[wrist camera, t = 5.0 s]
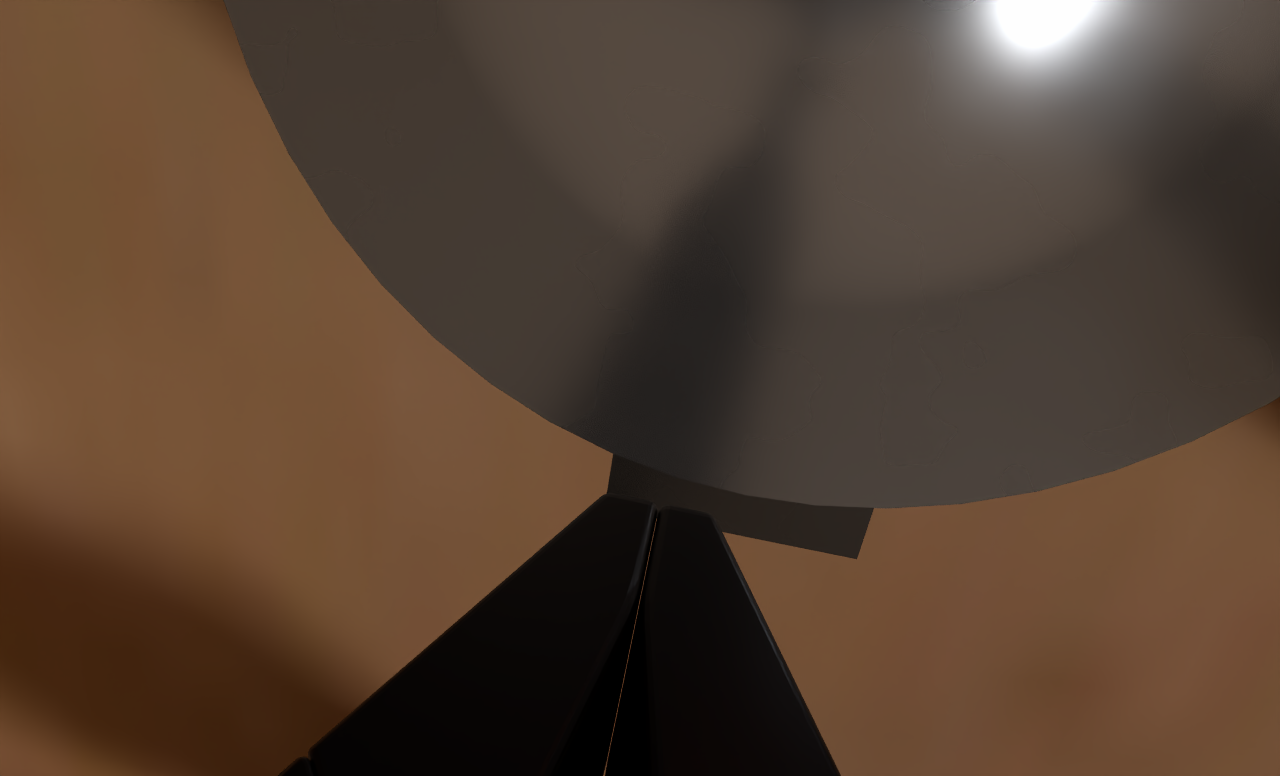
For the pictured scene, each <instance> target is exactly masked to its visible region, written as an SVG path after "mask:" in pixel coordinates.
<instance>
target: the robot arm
mask: <svg viewBox="0 0 1280 776" xmlns="http://www.w3.org/2000/svg"><path fill="white" fill-rule="evenodd" d="M657 512H658V509H657V506H656V505H655V504H654V503H653V502H651V501H648V500H644V499H639V498H634V497H629V496H625V495H620V494H615V493H607V494H604V495H603V496H601V497H600V498H599V499H598V500H597V501H595V502H594V503H593V504H592V505H591V506H590V507H588V508H587V509H586V510H585V511H584V512H583V513H582V514H580V515H579V516H578V517H577V518H576V519H575V520H573V521H572V522H571V523H570V524H569V525H568V526H567V527H565V528H564V529H563V530H562V531H561V532H560V533H558V534H557V535H556V536H555V537H554V538H553V539H551V540H550V541H549V542H548V543H547V544H546V545H545V546H543V547H542V548H541V549H540V550H539V551H538V552H536V553H535V554H534V555H533V556H532V557H531V558H529V559H528V560H527V561H526V562H525V563H524V564H523V565H521V566H520V567H519V568H518V569H517V570H516V571H514V572H513V573H512V574H511V575H510V576H509V577H508V578H506V579H505V580H504V581H503V582H502V583H501V584H499V585H498V586H497V587H496V588H495V589H494V590H492V591H491V592H490V593H489V594H488V595H487V596H486V597H484V598H483V599H482V600H481V601H480V602H479V603H477V604H476V605H475V606H474V607H473V608H472V609H471V610H469V611H468V612H467V613H466V614H465V615H464V616H462V617H461V618H460V619H459V620H458V621H457V622H455V623H454V624H453V625H452V626H451V627H450V628H449V629H447V630H446V631H445V632H444V633H443V634H442V635H440V636H439V637H438V638H437V639H436V640H435V641H434V642H432V643H431V644H430V645H429V646H428V647H427V648H425V649H424V650H423V651H422V652H421V653H420V654H418V655H417V656H416V657H415V658H414V659H413V660H412V661H410V662H409V663H408V664H407V665H406V666H405V667H403V668H402V669H401V670H400V671H399V672H398V673H396V674H395V675H394V676H393V677H392V678H391V679H390V680H388V681H387V682H386V683H385V684H384V685H383V686H381V687H380V688H379V689H378V690H377V691H376V692H375V693H373V694H372V695H371V696H370V697H369V698H368V699H366V700H365V701H364V702H363V703H362V704H361V705H359V706H358V707H357V708H356V709H355V710H354V711H353V712H351V713H350V714H349V715H348V716H347V717H346V718H344V719H343V720H342V721H341V722H340V723H339V724H338V725H336V726H335V727H334V728H333V729H332V730H331V731H329V732H328V733H327V734H326V735H325V736H324V737H322V738H321V739H320V740H319V741H318V742H317V743H316V744H314V745H313V746H312V747H311V748H310V749H309V751H308V758H306V757H299V758H297V759H296V760H295V761H294V762H293V763H291V764H290V765H289V766H288V767H287V768H286V769H285V770H283V771H282V772H281V773H280V774H279V775H278V776H603V774H604V770H605V766H606V762H607V767H606V773H605V776H841V775H840V773H839V771H838V769H837V767H836V765H835V762H834V760H833V758H832V756H831V754H830V752H829V750H828V748H827V746H826V744H825V742H824V740H823V738H822V736H821V734H820V732H819V730H818V728H817V726H816V724H815V721H814V719H813V717H812V715H811V713H810V711H809V709H808V707H807V705H806V703H805V701H804V699H803V697H802V695H801V693H800V691H799V689H798V687H797V685H796V683H795V680H794V678H793V676H792V674H791V672H790V670H789V668H788V666H787V664H786V662H785V660H784V658H783V656H782V654H781V652H780V650H779V648H778V646H777V644H776V641H775V639H774V637H773V635H772V633H771V631H770V629H769V627H768V625H767V623H766V621H765V619H764V617H763V615H762V613H761V611H760V609H759V607H758V605H757V603H756V600H755V598H754V596H753V594H752V592H751V590H750V588H749V586H748V584H747V582H746V580H745V578H744V576H743V574H742V572H741V570H740V568H739V566H738V564H737V562H736V559H735V557H734V555H733V553H732V551H731V549H730V547H729V545H728V543H727V541H726V539H725V537H724V535H723V533H722V531H721V529H720V527H719V525H718V523H717V521H716V519H715V518H714V517H713V516H712V515H711V514H709V513H706V512H701V511H696V510H691V509H687V508H682V507H677V506H672V505H665V506H663V507H662V508H661V509H660V510H659V512H658V517H657ZM656 518H657V521H656ZM655 523H656V526H655ZM654 527H655V531H654ZM653 532H654V536H653ZM652 537H653V541H652ZM651 542H652V546H651ZM650 547H651V551H650ZM649 552H650V556H649ZM648 557H649V561H648ZM647 562H648V565H647ZM646 567H647V570H646ZM645 572H646V575H645ZM644 576H645V580H644ZM643 581H644V585H643ZM642 586H643V590H642ZM641 591H642V595H641ZM640 596H641V600H640ZM639 601H640V604H639ZM638 606H639V609H638ZM637 611H638V614H637ZM636 616H637V619H636ZM635 620H636V624H635ZM634 625H635V629H634ZM633 630H634V634H633ZM632 635H633V639H632ZM631 640H632V644H631ZM630 645H631V649H630ZM629 650H630V653H629ZM628 655H629V658H628ZM627 660H628V663H627ZM626 664H627V668H626ZM625 669H626V673H625ZM624 674H625V678H624ZM623 679H624V683H623ZM622 684H623V688H622ZM621 689H622V693H621ZM620 694H621V698H620ZM619 699H620V702H619ZM618 703H619V707H618ZM617 708H618V712H617ZM616 713H617V717H616ZM615 718H616V722H615ZM614 723H615V727H614ZM613 728H614V732H613ZM612 733H613V737H612ZM611 738H612V742H611ZM610 743H611V746H610ZM609 747H610V751H609ZM608 752H609V756H608ZM607 757H608V761H607Z"/></svg>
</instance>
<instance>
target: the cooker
mask: <svg viewBox="0 0 1280 776" xmlns="http://www.w3.org/2000/svg"><path fill="white" fill-rule="evenodd" d="M607 493H615V494H620V495H625V496H629V497H634V498H639V499H644V500H648V501H651V502H653V503H654V504H655V505H656V506H657V509H658V512H659V510H660V509H661V508H662V507H663V506H665V505H672V506H677V507H682V508H687V509H691V510H696V511H701V512H706V513H709V514H711V515H712V516H713V517H714V518H715V519H716V521H717V523H718V525H719V527H720V529H721V531H722V532H726V533H731V534H736V535H741V536H745V537H750V538H755V539H760V540H765V541H770V542H775V543H780V544H785V545H790V546H795V547H800V548H805V549H809V550H814V551H819V552H824V553H829V554H834V555H839V556H844V557H849V558H854V559H857V557H858V554H859V551H860V548H861V545H862V542H863V539H864V536H865V533H866V530H867V527H868V524H869V521H870V518H871V515H872V512H873V509H874V508H867V507H843V506H819V505H809V504H803V503H796V502H789V501H782V500H775V499H769V498H762V497H755V496H748V495H743V494H739V493H735V492H731V491H728V490H724V489H720V488H716V487H712V486H708V485H704V484H700V483H696V482H693V481H689V480H685V479H681V478H677V477H674V476H672V475H669V474H666V473H664V472H661V471H658V470H656V469H653V468H650V467H648V466H645V465H642V464H640V463H637V462H634V461H632V460H629V459H626V458H624V457H621V456H618V455H616V454H613V459H612V465H611V471H610V477H609V484H608V490H607ZM658 512H657V517H658Z"/></svg>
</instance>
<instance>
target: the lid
mask: <svg viewBox="0 0 1280 776" xmlns="http://www.w3.org/2000/svg"><path fill="white" fill-rule="evenodd" d="M224 3H225V5H226V8H227V11H228V14H229V17H230V19H231V22H232V25H233V28H234V30H235V33H236V36H237V39H238V41H239V44H240V47H241V50H242V53H243V55H244V58H245V61H246V64H247V66H248V69H249V72H250V75H251V77H252V79H253V81H254V83H255V85H256V87H257V90H258V92H259V94H260V96H261V98H262V100H263V102H264V104H265V106H266V108H267V110H268V112H269V114H270V116H271V118H272V120H273V122H274V124H275V126H276V128H277V130H278V133H279V135H280V137H281V139H282V141H283V143H284V145H285V147H286V149H287V151H288V153H289V155H290V156H291V158H292V160H293V161H294V163H295V164H296V166H297V167H298V169H299V171H300V172H301V174H302V175H303V177H304V179H305V180H306V182H307V183H308V185H309V187H310V188H311V190H312V191H313V193H314V194H315V196H316V198H317V199H318V201H319V202H320V204H321V206H322V207H323V209H324V210H325V212H326V214H327V215H328V217H329V218H330V220H331V221H332V223H333V224H334V225H335V227H336V228H337V229H338V231H339V232H340V233H341V234H342V236H343V237H344V238H345V239H346V241H347V242H348V243H349V244H350V246H351V247H352V248H353V249H354V251H355V252H356V253H357V255H358V256H359V257H360V258H361V260H362V261H363V262H364V263H365V265H366V266H367V267H368V268H369V270H370V271H371V272H372V273H373V275H374V276H375V277H376V278H377V280H378V281H379V282H380V284H381V285H382V286H383V287H384V288H385V289H386V290H387V291H388V292H389V293H390V294H391V295H392V296H393V297H394V298H395V299H396V300H397V301H398V302H399V303H400V304H401V305H402V306H403V307H404V308H405V309H406V310H407V311H408V312H409V313H410V314H411V315H412V316H413V317H414V318H415V319H416V320H417V321H418V322H419V323H420V324H421V325H422V326H423V327H424V328H425V329H426V330H427V331H428V332H429V333H430V334H431V335H432V336H433V337H434V338H435V339H436V340H438V341H439V342H440V343H441V344H442V345H444V346H445V347H446V348H447V349H449V350H450V351H451V352H452V353H454V354H455V355H456V356H457V357H458V358H460V359H461V360H462V361H463V362H465V363H466V364H467V365H468V366H469V367H471V368H472V369H473V370H474V371H476V372H477V373H478V374H479V375H481V376H482V377H483V378H484V379H485V380H487V381H488V382H489V383H491V384H492V385H494V386H495V387H497V388H498V389H500V390H501V391H503V392H504V393H506V394H508V395H509V396H511V397H512V398H514V399H515V400H517V401H518V402H520V403H521V404H523V405H525V406H526V407H528V408H529V409H531V410H532V411H534V412H535V413H537V414H538V415H540V416H542V417H543V418H545V419H546V420H548V421H549V422H551V423H553V424H555V425H557V426H559V427H561V428H563V429H565V430H567V431H569V432H571V433H573V434H575V435H577V436H579V437H581V438H583V439H585V440H587V441H589V442H591V443H593V444H595V445H597V446H599V447H601V448H603V449H605V450H607V451H609V452H611V453H613V454H616V455H618V456H621V457H624V458H626V459H629V460H632V461H634V462H637V463H640V464H642V465H645V466H648V467H650V468H653V469H656V470H658V471H661V472H664V473H666V474H669V475H672V476H674V477H677V478H681V479H685V480H689V481H693V482H696V483H700V484H704V485H708V486H712V487H716V488H720V489H724V490H728V491H731V492H735V493H739V494H743V495H748V496H755V497H762V498H769V499H775V500H782V501H789V502H796V503H803V504H809V505H819V506H843V507H867V508H902V507H918V506H934V505H951V504H963V503H970V502H976V501H982V500H988V499H994V498H1000V497H1006V496H1012V495H1018V494H1025V493H1031V492H1037V491H1040V490H1044V489H1048V488H1052V487H1055V486H1059V485H1063V484H1067V483H1070V482H1074V481H1078V480H1082V479H1085V478H1089V477H1093V476H1096V475H1100V474H1104V473H1108V472H1111V471H1115V470H1117V469H1120V468H1123V467H1125V466H1128V465H1131V464H1133V463H1136V462H1139V461H1141V460H1144V459H1146V458H1149V457H1152V456H1154V455H1157V454H1160V453H1162V452H1165V451H1168V450H1170V449H1173V448H1176V447H1178V446H1181V445H1184V444H1186V443H1189V442H1192V441H1194V440H1196V439H1198V438H1200V437H1202V436H1204V435H1206V434H1208V433H1210V432H1212V431H1214V430H1216V429H1218V428H1220V427H1222V426H1224V425H1226V424H1228V423H1230V422H1232V421H1234V420H1236V419H1238V418H1240V417H1242V416H1244V415H1246V414H1248V413H1250V412H1252V411H1254V410H1256V409H1258V408H1261V407H1263V406H1265V405H1267V404H1269V403H1270V402H1272V401H1274V400H1275V399H1277V398H1279V397H1280V0H224Z"/></svg>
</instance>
